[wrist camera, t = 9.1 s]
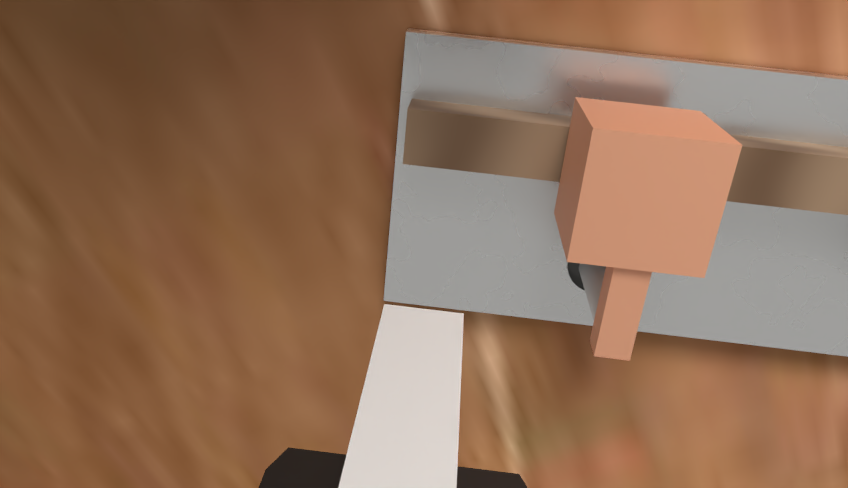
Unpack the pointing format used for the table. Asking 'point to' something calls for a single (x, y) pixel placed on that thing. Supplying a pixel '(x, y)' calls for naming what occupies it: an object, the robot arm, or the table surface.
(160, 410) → the table surface
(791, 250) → the bolt plate
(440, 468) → the robot arm
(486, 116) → the rail and fixed leg
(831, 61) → the table surface
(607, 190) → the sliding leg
